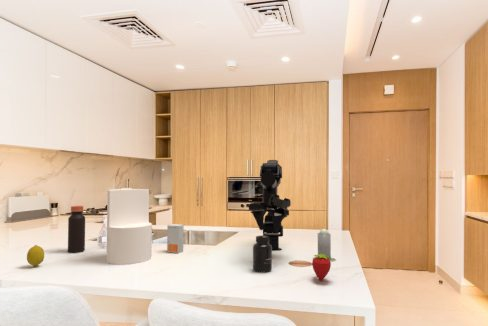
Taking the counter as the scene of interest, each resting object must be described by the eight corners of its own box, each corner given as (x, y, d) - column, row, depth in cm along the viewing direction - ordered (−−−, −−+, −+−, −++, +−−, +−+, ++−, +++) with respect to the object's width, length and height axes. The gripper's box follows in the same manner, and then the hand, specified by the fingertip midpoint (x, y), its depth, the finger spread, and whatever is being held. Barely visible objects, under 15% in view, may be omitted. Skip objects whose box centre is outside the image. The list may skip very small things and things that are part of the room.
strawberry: (330, 277, 112) (329, 247, 112) (331, 285, 104) (331, 252, 104) (311, 276, 113) (311, 246, 113) (312, 284, 105) (312, 251, 106)
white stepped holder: (98, 259, 136) (99, 189, 137) (137, 252, 149) (138, 188, 150) (119, 267, 124) (120, 191, 125) (159, 258, 137) (160, 189, 138)
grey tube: (315, 258, 135) (315, 228, 136) (326, 257, 137) (326, 227, 137) (321, 261, 130) (321, 230, 131) (333, 260, 132) (332, 229, 132)
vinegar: (87, 249, 153) (88, 205, 154) (79, 253, 146) (79, 207, 147) (73, 249, 154) (74, 205, 154) (64, 253, 147) (65, 207, 147)
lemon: (25, 269, 121) (26, 247, 121) (27, 265, 126) (27, 244, 126) (43, 267, 124) (44, 245, 124) (44, 264, 129) (45, 243, 129)
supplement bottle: (270, 273, 116) (270, 238, 117) (251, 272, 118) (251, 237, 118) (273, 268, 123) (272, 235, 124) (254, 267, 125) (254, 234, 125)
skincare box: (166, 252, 148) (166, 225, 148) (172, 250, 152) (172, 223, 152) (178, 253, 146) (178, 225, 146) (183, 251, 150) (183, 224, 150)
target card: (278, 261, 133) (278, 259, 133) (327, 257, 140) (327, 255, 140) (292, 269, 121) (292, 267, 121) (345, 264, 128) (345, 263, 128)
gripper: (269, 185, 125) (269, 227, 121) (299, 194, 138) (299, 232, 133) (248, 189, 133) (246, 229, 128) (278, 197, 145) (278, 234, 141)
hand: (269, 231), depth 132 cm, fingers open, 9 cm apart
